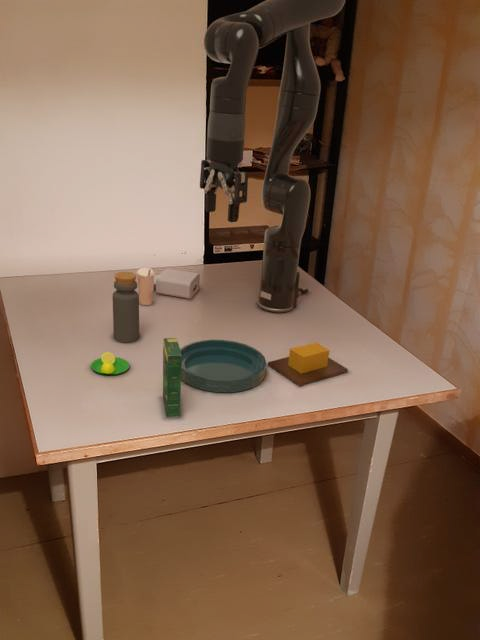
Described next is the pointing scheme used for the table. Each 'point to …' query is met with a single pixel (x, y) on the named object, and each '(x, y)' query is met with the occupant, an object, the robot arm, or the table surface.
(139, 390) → the table surface
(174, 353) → the coffee box
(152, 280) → the milkshake
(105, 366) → the lemons on green plate
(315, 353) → the block
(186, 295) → the charger
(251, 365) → the teal plate
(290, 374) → the board
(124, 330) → the bottle
